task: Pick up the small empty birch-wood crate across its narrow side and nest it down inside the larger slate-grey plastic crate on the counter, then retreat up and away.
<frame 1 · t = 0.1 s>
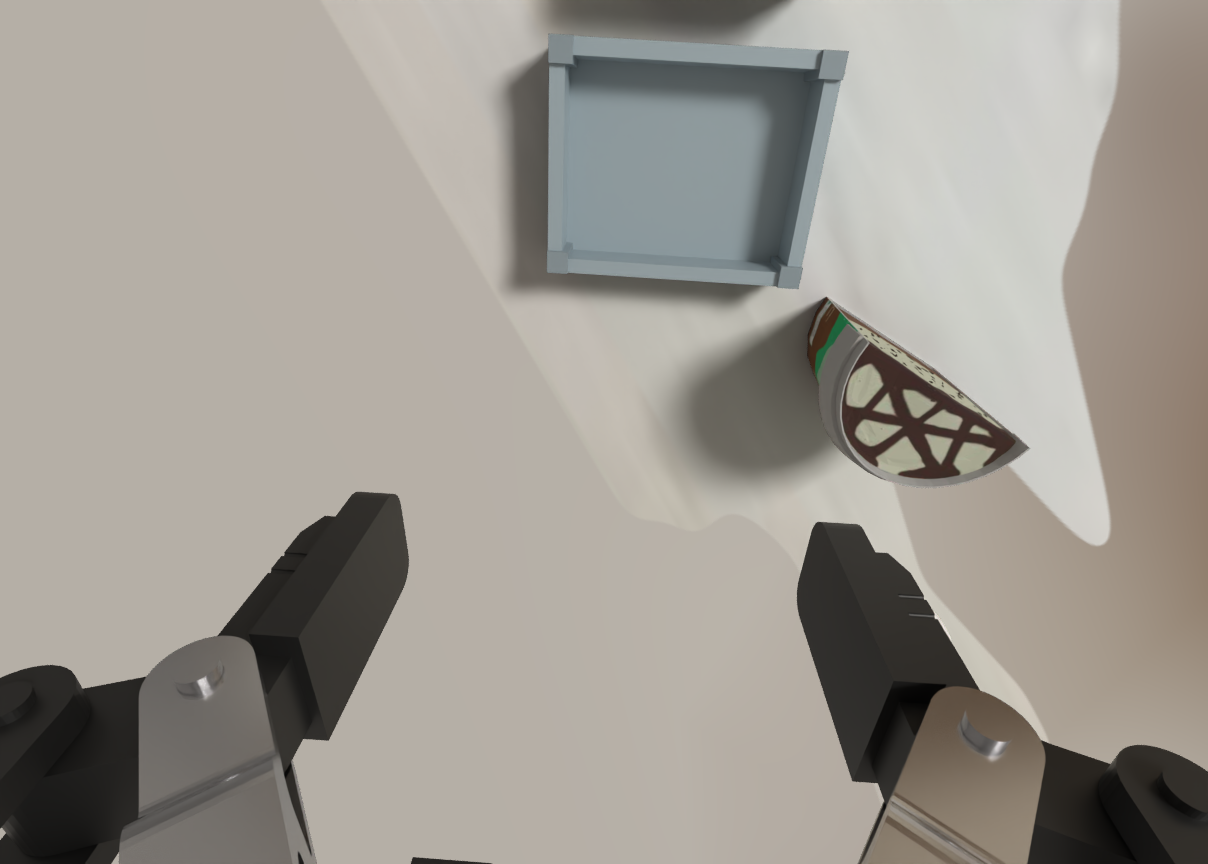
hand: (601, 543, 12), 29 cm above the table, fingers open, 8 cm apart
crate: (679, 166, 35), on the table
food container: (848, 368, 40), on the table
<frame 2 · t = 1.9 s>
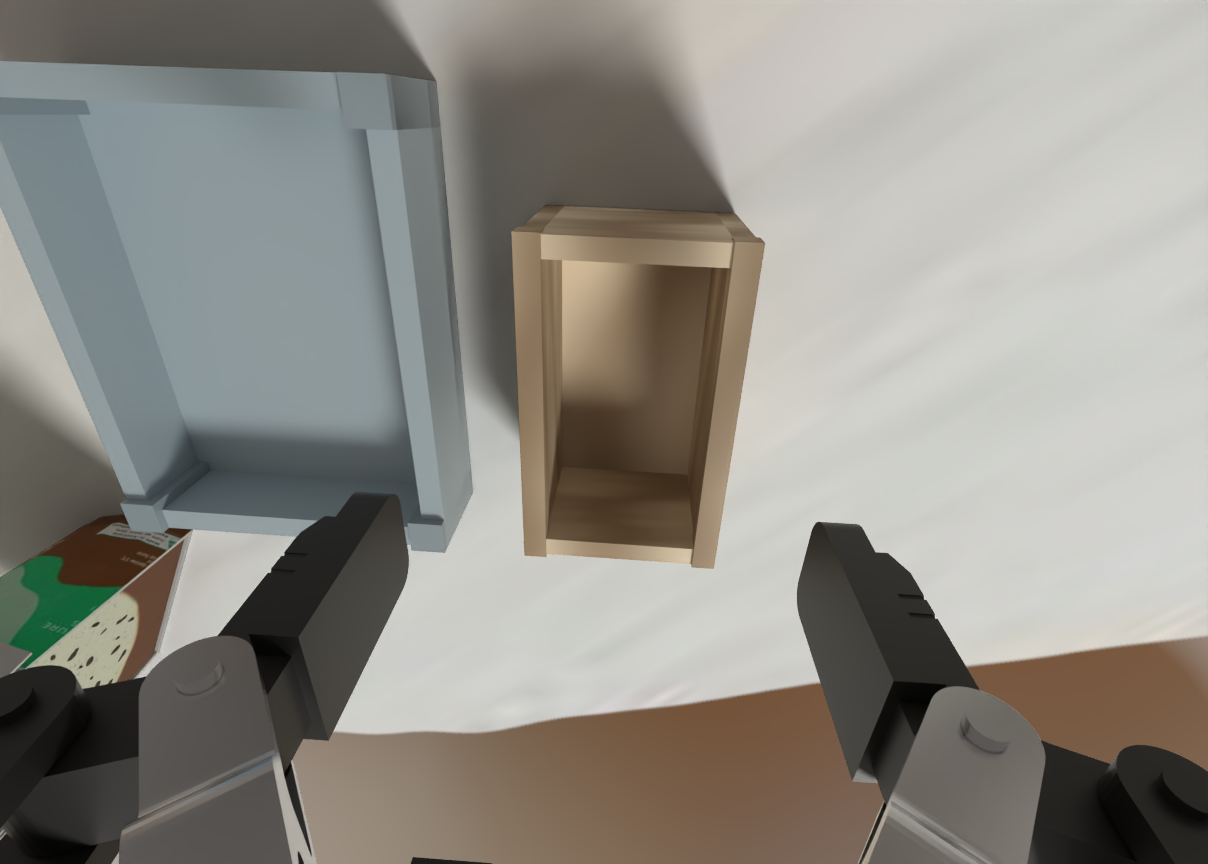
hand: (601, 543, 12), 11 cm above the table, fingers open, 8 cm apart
crate: (297, 312, 21), on the table
food container: (113, 564, 28), on the table
small crate: (631, 357, 21), on the table
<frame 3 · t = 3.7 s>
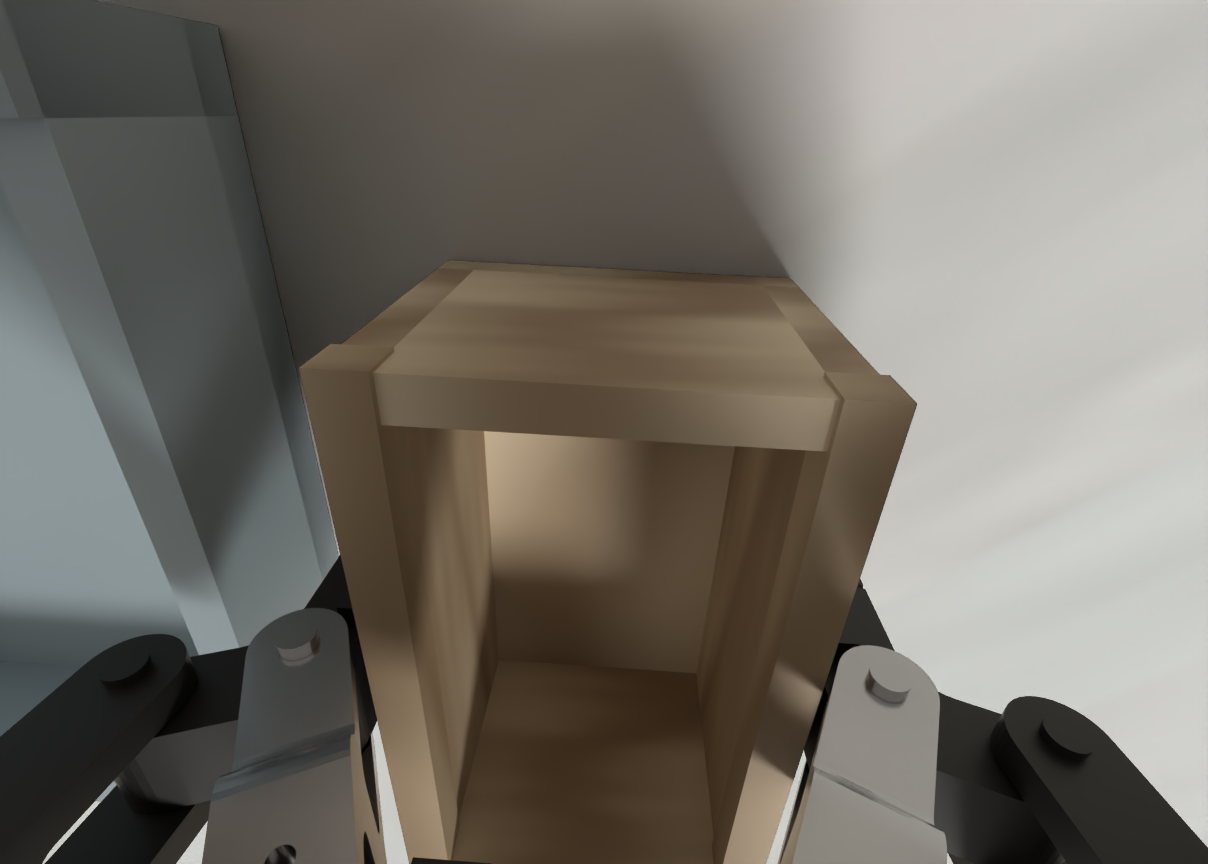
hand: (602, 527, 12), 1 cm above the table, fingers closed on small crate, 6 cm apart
crate: (44, 429, 13), on the table
small crate: (606, 503, 13), on the table, touching gripper
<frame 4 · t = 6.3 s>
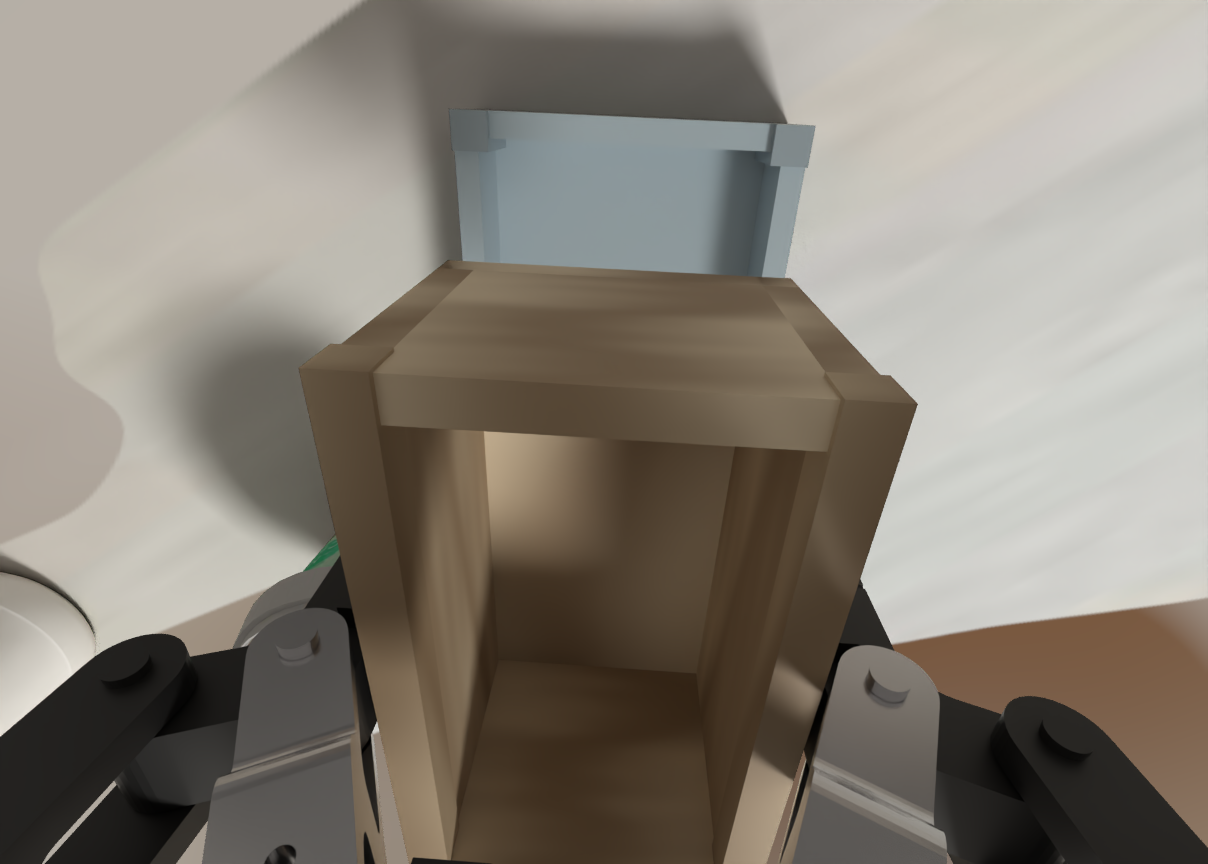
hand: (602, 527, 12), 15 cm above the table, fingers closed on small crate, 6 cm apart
crate: (621, 308, 25), on the table
food container: (389, 527, 32), on the table
small crate: (606, 503, 13), point 15 cm above the table, touching gripper
vodka: (31, 617, 37), on the table
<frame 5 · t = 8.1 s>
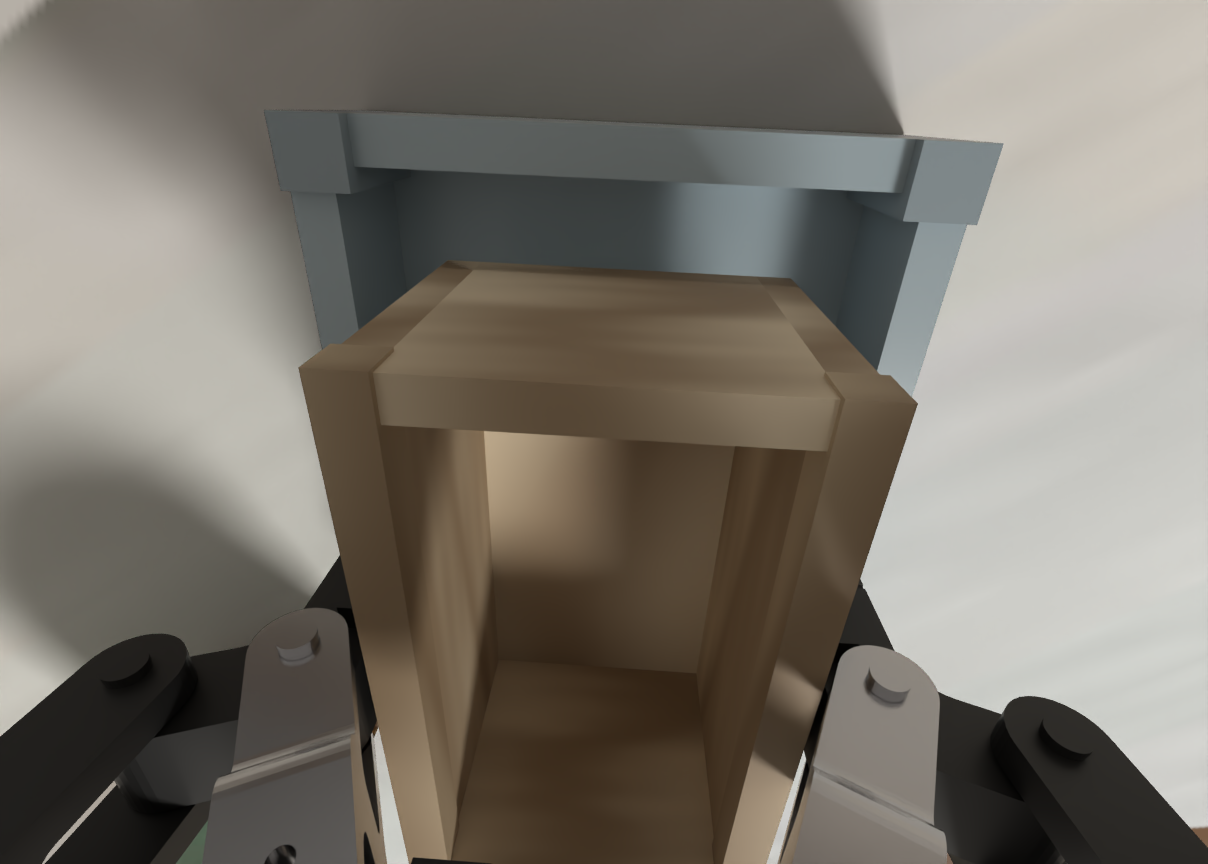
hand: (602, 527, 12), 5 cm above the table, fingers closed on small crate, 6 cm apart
crate: (614, 424, 16), on the table
food container: (289, 699, 23), on the table
small crate: (606, 503, 13), point 4 cm above the table, touching gripper
when the fingers open (4 cm above the table, at t = 9.3 s): small crate drops 2 cm, resting on crate.
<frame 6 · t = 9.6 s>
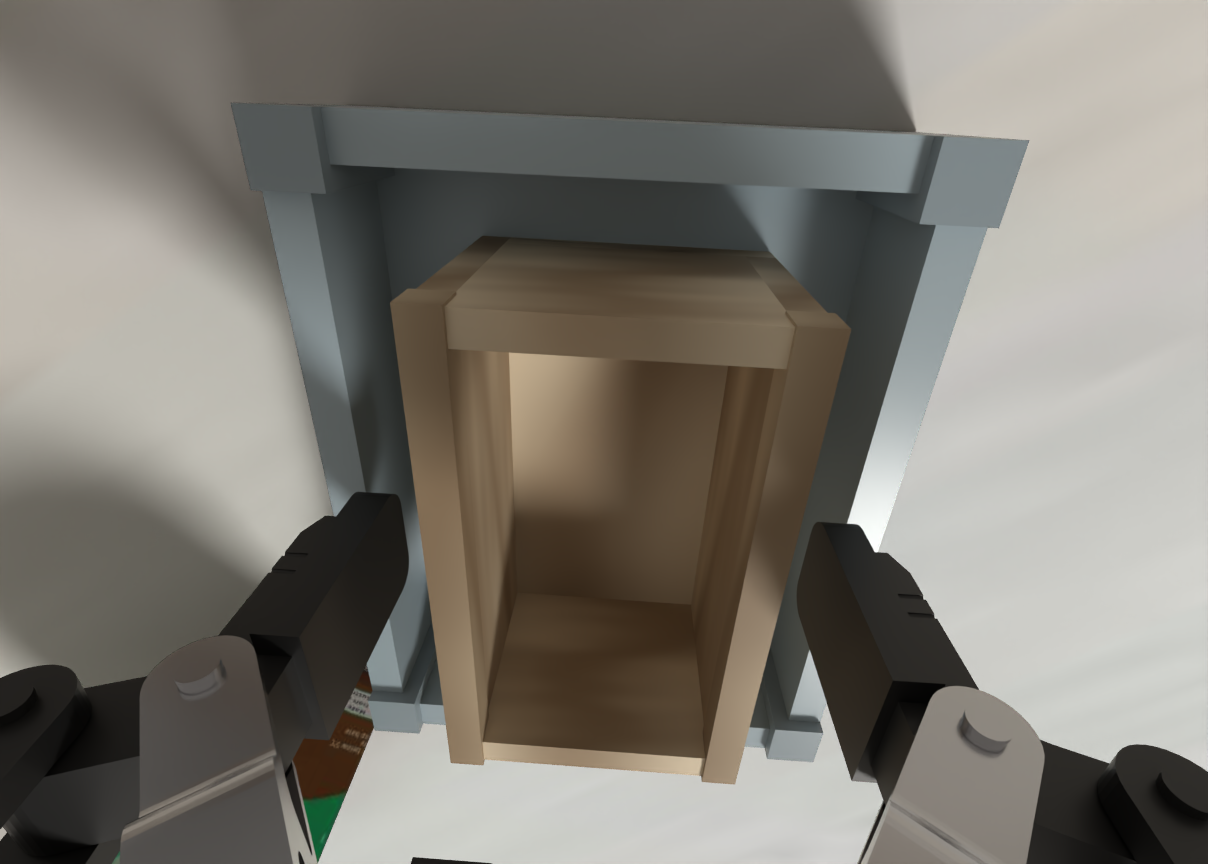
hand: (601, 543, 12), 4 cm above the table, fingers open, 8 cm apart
crate: (610, 435, 15), on the table
food container: (275, 715, 22), on the table
small crate: (612, 450, 15), point 1 cm above the table, touching crate
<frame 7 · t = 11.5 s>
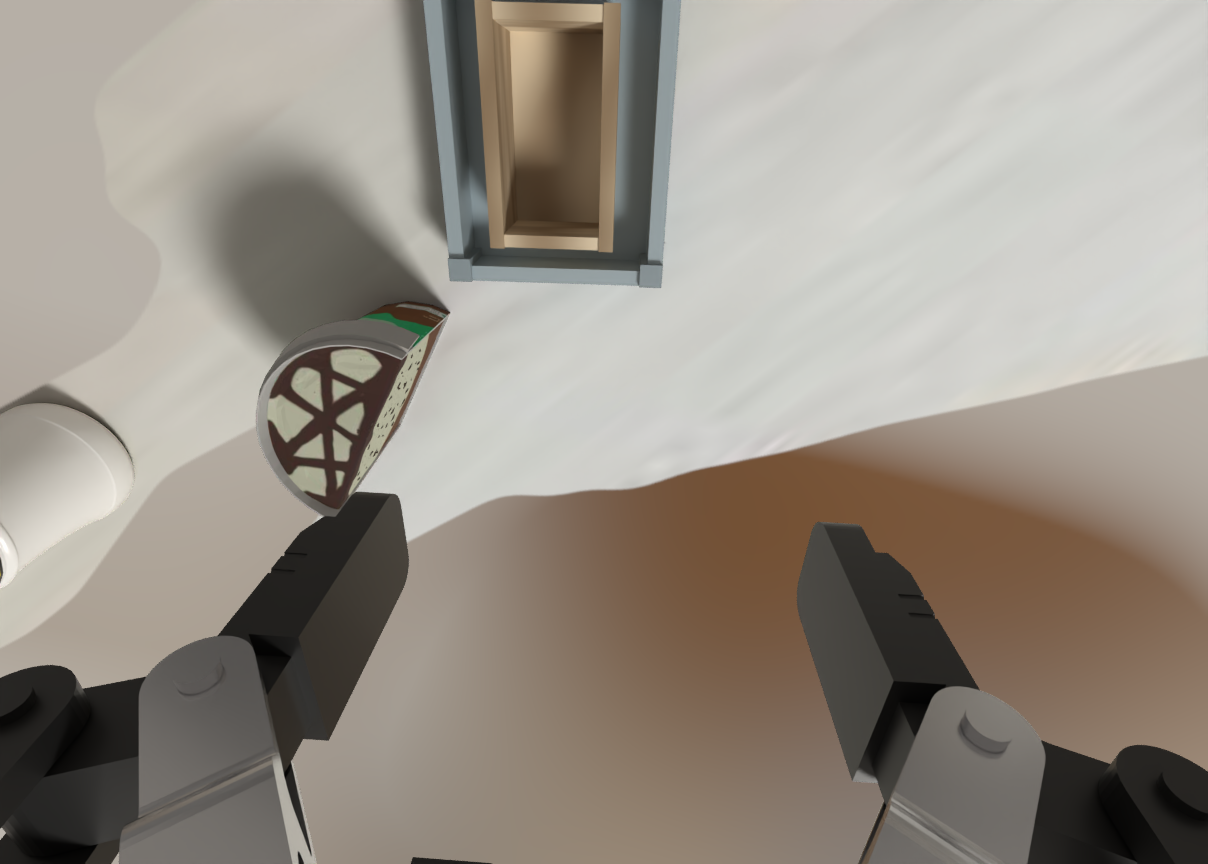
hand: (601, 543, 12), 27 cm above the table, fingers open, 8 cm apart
crate: (560, 132, 32), on the table
food container: (381, 348, 39), on the table
small crate: (560, 133, 31), point 1 cm above the table, touching crate
vodka: (78, 452, 44), on the table
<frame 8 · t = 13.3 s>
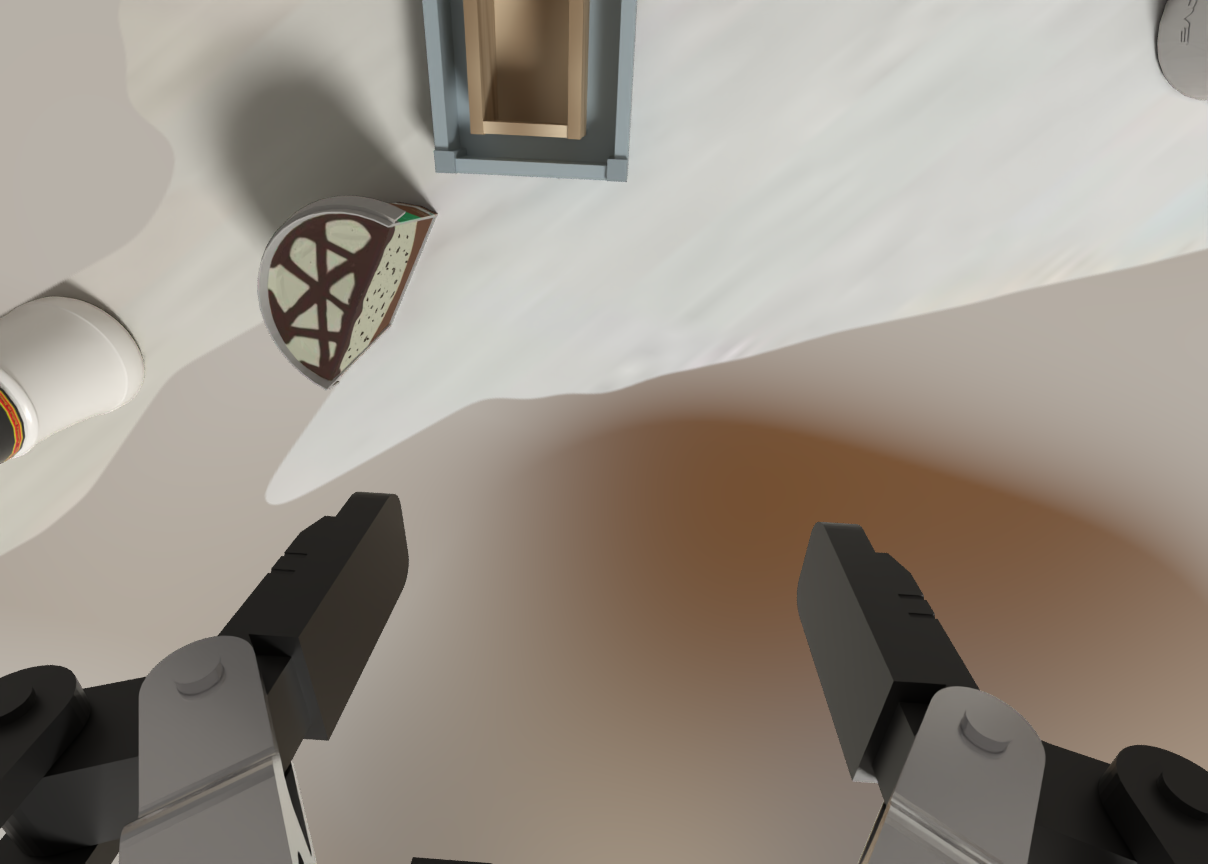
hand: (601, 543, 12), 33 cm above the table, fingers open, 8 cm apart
crate: (538, 39, 35), on the table
food container: (374, 249, 42), on the table
small crate: (538, 37, 35), point 1 cm above the table, touching crate
vodka: (93, 349, 47), on the table
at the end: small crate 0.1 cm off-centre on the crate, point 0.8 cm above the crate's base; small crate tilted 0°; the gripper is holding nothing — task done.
